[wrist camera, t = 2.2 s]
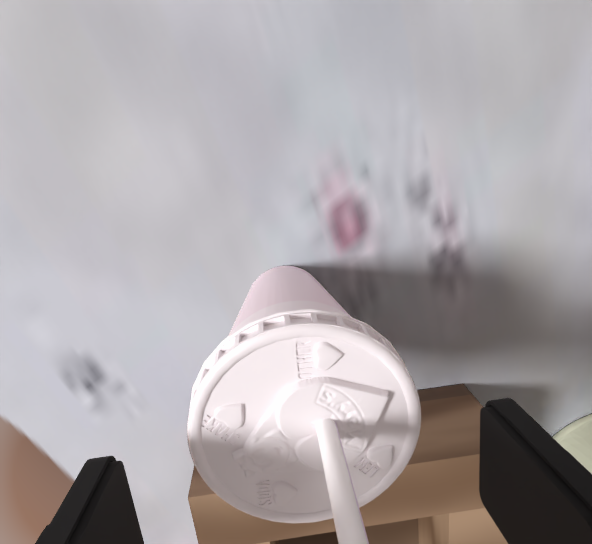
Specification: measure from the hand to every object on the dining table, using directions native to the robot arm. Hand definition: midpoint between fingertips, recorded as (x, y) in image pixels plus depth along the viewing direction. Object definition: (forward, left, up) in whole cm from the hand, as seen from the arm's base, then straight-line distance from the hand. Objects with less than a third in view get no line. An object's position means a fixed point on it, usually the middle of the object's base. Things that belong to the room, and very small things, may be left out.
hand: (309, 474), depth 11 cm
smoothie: (-1, 0, -11) cm, 10 cm away
